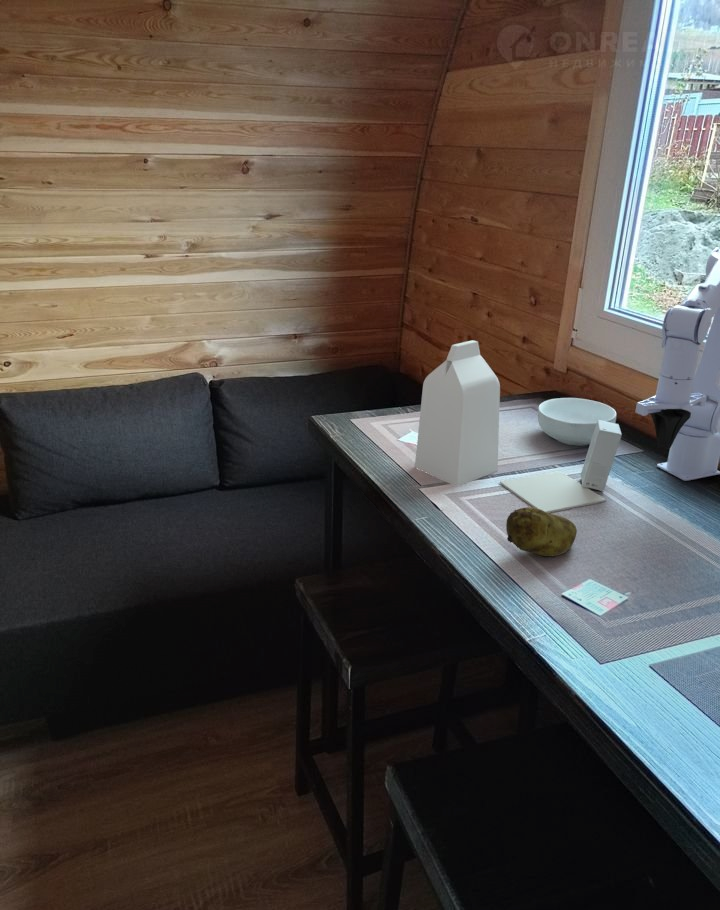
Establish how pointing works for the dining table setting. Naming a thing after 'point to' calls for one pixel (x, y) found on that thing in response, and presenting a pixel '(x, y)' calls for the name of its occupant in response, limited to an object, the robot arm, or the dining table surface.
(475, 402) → the milk
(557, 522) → the potato
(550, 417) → the cereal bowl
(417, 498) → the dining table surface
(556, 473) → the mat
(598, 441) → the skincare box
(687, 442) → the robot arm
